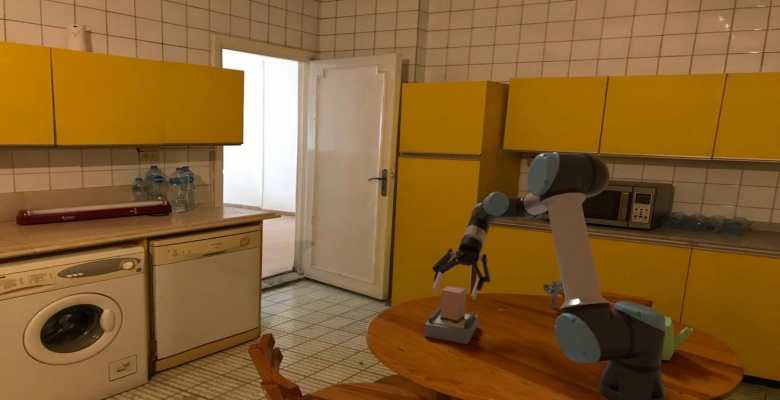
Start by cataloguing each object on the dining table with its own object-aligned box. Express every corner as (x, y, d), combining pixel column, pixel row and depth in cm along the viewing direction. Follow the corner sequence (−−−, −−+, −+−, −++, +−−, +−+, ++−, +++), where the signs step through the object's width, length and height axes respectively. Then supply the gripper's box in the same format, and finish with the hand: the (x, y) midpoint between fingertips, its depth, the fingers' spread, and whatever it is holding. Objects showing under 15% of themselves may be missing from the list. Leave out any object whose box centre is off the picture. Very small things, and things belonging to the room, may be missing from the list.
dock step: (467, 344, 156) (468, 327, 156) (424, 336, 161) (424, 319, 160) (477, 326, 171) (478, 311, 170) (437, 320, 176) (438, 304, 175)
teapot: (689, 350, 158) (693, 310, 157) (688, 375, 141) (694, 330, 140) (624, 336, 168) (628, 298, 166) (617, 358, 151) (621, 316, 149)
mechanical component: (540, 308, 193) (542, 282, 192) (560, 305, 197) (562, 280, 196) (545, 310, 190) (547, 284, 189) (566, 307, 195) (568, 282, 194)
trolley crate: (447, 314, 170) (449, 285, 168) (464, 318, 167) (466, 288, 165) (440, 319, 165) (441, 289, 163) (457, 323, 162) (459, 293, 160)
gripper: (509, 253, 173) (492, 307, 162) (442, 243, 185) (422, 292, 174) (505, 240, 168) (487, 295, 156) (437, 230, 180) (416, 281, 169)
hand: (453, 294), depth 165 cm, fingers open, 13 cm apart
